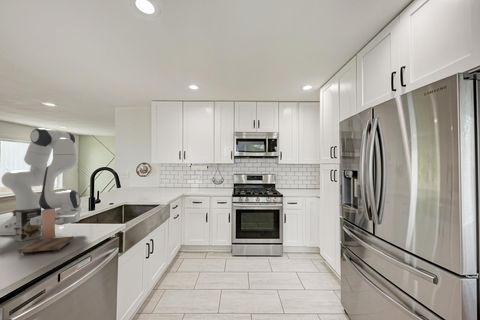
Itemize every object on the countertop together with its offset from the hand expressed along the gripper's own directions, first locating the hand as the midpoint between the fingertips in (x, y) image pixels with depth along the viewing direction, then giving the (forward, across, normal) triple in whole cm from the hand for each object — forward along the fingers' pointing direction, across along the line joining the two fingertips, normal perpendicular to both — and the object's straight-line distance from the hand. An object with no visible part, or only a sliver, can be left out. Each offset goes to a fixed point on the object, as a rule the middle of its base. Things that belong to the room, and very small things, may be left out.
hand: (47, 223), depth 108 cm
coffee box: (-23, -20, +14) cm, 33 cm away
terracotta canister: (-1, 0, +8) cm, 8 cm away
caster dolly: (-1, 0, +14) cm, 14 cm away
